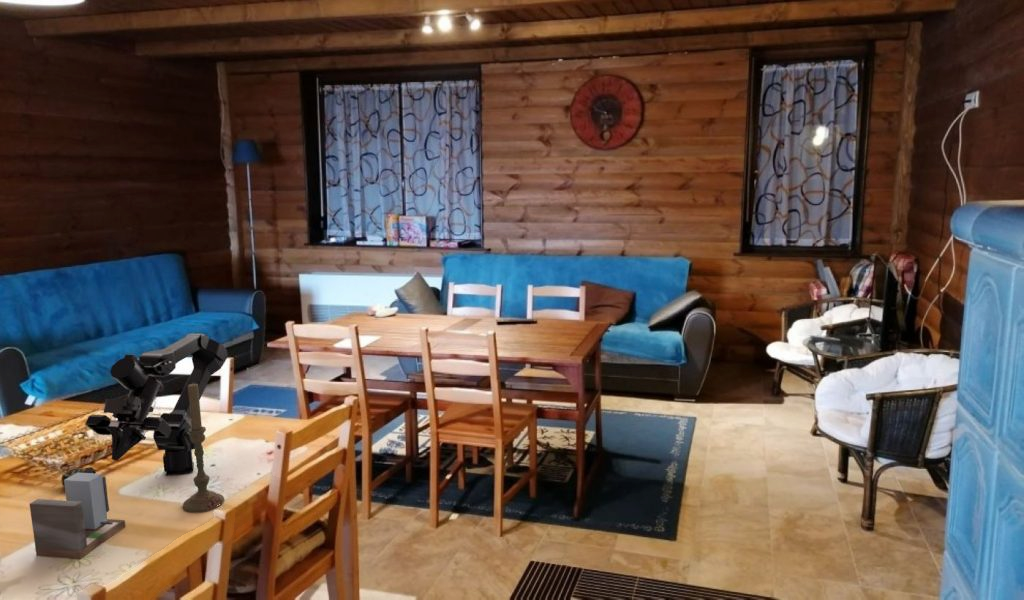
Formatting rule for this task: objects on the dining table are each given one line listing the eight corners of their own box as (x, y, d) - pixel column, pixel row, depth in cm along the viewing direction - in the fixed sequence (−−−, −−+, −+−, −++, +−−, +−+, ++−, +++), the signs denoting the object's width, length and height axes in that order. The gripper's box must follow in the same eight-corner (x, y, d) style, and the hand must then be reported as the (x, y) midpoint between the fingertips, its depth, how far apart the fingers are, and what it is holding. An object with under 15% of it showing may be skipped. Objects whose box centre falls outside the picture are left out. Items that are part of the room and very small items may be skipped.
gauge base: (84, 523, 165) (78, 475, 163) (125, 526, 163) (120, 477, 161) (36, 555, 151) (29, 503, 149) (80, 559, 150) (73, 506, 148)
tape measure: (90, 489, 183) (88, 475, 182) (59, 493, 181) (57, 479, 180) (96, 478, 190) (95, 465, 189) (66, 482, 187) (64, 468, 187)
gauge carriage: (84, 517, 163) (78, 471, 162) (120, 520, 162) (114, 473, 160) (69, 527, 159) (63, 480, 157) (106, 530, 158) (100, 482, 156)
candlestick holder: (198, 515, 168) (187, 389, 163) (174, 506, 173) (162, 383, 167) (232, 500, 176) (222, 379, 170) (208, 492, 180) (197, 374, 175)
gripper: (86, 381, 172) (56, 443, 163) (159, 384, 169) (133, 447, 160) (112, 403, 181) (85, 463, 172) (182, 406, 178) (158, 467, 169)
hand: (114, 460), depth 168 cm, fingers closed
